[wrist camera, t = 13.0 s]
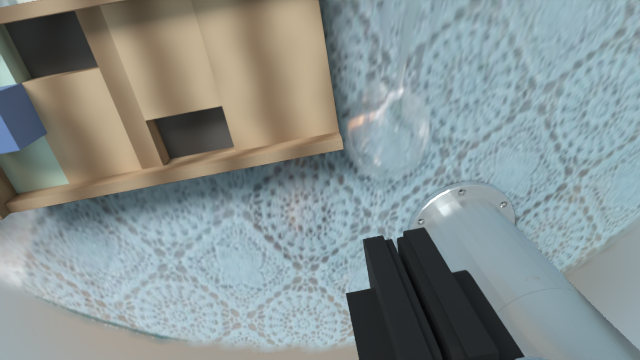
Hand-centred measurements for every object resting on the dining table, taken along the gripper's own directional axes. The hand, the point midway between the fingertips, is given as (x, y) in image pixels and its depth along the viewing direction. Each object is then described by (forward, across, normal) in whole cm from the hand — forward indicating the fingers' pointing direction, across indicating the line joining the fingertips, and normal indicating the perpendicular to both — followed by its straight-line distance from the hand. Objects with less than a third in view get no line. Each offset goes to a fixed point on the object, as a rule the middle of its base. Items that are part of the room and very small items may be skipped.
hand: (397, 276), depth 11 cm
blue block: (+26, +27, -3) cm, 38 cm away
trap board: (+29, +15, -2) cm, 32 cm away
